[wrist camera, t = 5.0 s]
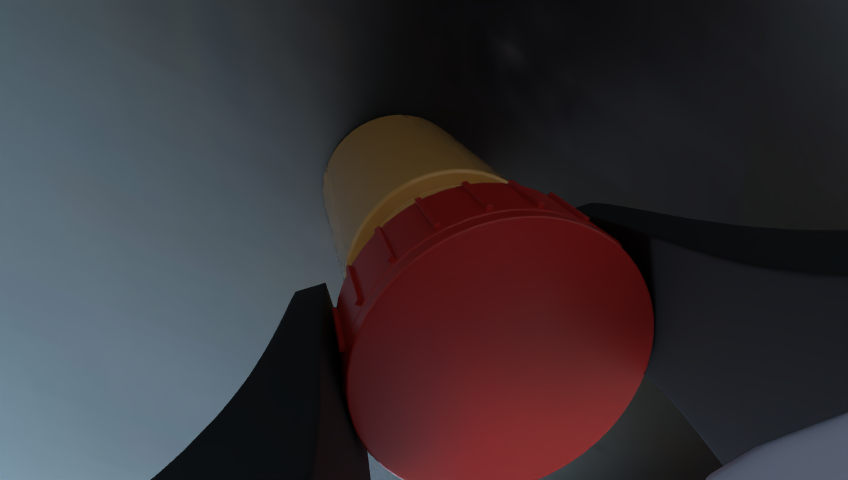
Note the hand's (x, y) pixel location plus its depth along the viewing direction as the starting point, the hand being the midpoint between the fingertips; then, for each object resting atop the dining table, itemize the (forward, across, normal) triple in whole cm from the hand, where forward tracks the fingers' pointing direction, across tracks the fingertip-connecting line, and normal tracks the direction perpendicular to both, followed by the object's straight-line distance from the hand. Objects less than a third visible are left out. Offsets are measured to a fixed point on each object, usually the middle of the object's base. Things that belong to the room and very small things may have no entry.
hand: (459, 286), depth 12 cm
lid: (-3, 0, 0) cm, 3 cm away
